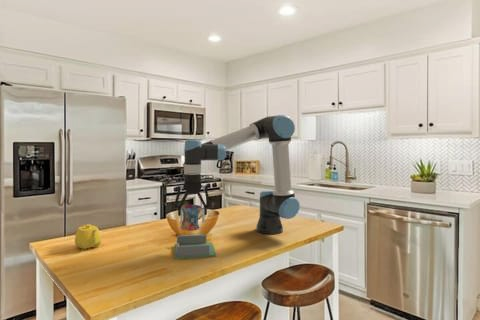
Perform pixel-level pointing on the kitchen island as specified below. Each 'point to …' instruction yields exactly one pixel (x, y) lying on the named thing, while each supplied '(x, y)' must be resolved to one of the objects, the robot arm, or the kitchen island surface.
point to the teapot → (88, 237)
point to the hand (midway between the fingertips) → (192, 222)
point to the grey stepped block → (193, 247)
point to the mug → (190, 217)
